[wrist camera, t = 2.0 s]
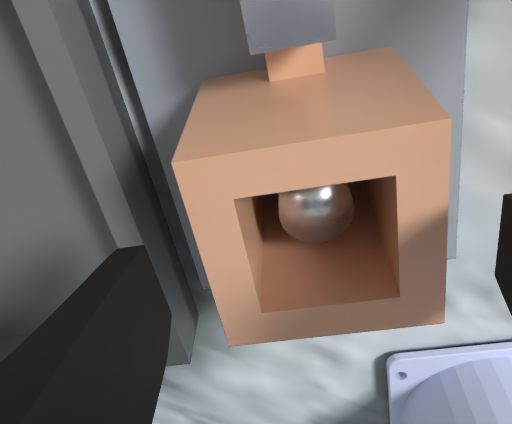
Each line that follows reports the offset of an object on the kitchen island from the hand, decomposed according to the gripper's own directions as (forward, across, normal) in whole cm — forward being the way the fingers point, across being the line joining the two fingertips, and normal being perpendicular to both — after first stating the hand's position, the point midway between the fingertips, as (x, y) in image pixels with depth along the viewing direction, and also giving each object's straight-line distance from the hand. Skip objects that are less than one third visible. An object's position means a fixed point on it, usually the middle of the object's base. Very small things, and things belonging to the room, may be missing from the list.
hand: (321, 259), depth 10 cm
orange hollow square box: (+5, 0, -2) cm, 6 cm away
